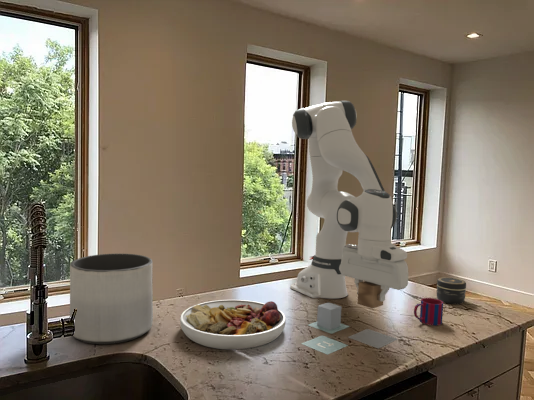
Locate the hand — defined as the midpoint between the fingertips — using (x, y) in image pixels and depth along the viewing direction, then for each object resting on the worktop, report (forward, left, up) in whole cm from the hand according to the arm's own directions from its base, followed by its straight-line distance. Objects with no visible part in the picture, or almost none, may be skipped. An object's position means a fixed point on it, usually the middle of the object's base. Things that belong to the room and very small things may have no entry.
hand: (370, 297), depth 126 cm
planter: (-51, -51, -13) cm, 73 cm away
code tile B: (-13, -1, -12) cm, 18 cm away
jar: (-1, +56, -13) cm, 57 cm away
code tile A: (-5, -13, -12) cm, 19 cm away
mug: (+4, +27, -13) cm, 30 cm away
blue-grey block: (-13, -1, -12) cm, 18 cm away
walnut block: (0, 0, -2) cm, 2 cm away
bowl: (-29, -25, -13) cm, 41 cm away
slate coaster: (+1, +1, -12) cm, 12 cm away
